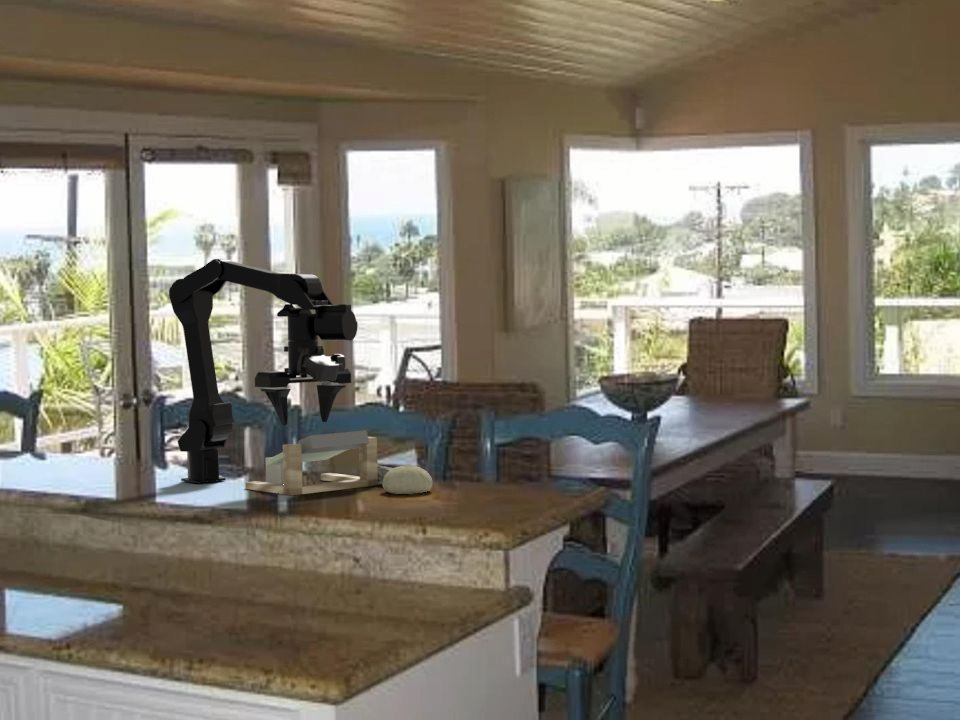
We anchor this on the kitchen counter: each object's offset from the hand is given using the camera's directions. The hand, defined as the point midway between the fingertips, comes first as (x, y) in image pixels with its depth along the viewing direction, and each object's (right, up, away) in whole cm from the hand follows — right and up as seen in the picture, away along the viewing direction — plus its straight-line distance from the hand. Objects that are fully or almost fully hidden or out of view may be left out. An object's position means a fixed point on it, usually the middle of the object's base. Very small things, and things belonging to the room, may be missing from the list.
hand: (304, 423), depth 292 cm
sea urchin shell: (+20, -12, -11) cm, 26 cm away
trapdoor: (+3, -6, -3) cm, 7 cm away
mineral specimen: (+17, -12, +1) cm, 21 cm away
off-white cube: (-5, -7, +6) cm, 10 cm away
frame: (+2, -12, -1) cm, 12 cm away
